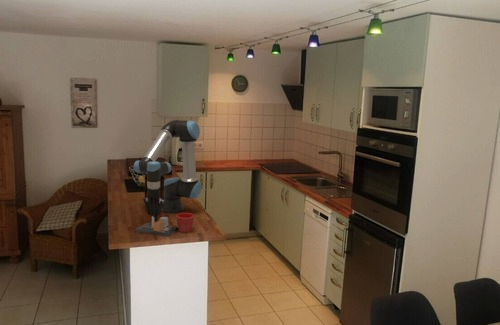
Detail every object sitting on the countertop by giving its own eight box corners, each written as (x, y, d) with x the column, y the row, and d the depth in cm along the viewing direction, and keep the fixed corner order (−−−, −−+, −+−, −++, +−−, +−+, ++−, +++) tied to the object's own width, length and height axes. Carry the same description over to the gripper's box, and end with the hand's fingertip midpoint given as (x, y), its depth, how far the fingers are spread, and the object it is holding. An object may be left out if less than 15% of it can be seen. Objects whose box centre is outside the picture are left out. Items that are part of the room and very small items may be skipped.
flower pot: (194, 227, 262) (194, 212, 260) (192, 233, 251) (193, 218, 249) (177, 227, 261) (177, 212, 260) (175, 233, 251) (175, 217, 249)
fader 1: (156, 228, 252) (156, 220, 251) (162, 229, 250) (162, 221, 250) (153, 230, 248) (153, 222, 247) (159, 231, 247) (159, 223, 246)
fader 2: (162, 224, 259) (162, 216, 259) (168, 225, 258) (168, 217, 257) (159, 226, 256) (159, 218, 255) (165, 227, 254) (164, 219, 254)
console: (146, 225, 263) (146, 222, 263) (178, 230, 256) (178, 227, 256) (136, 231, 252) (136, 228, 251) (168, 236, 245) (168, 233, 245)
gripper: (140, 188, 244) (141, 227, 248) (160, 190, 240) (160, 229, 244) (147, 185, 251) (147, 223, 255) (166, 187, 247) (166, 226, 251)
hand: (154, 226), depth 250 cm, fingers closed
